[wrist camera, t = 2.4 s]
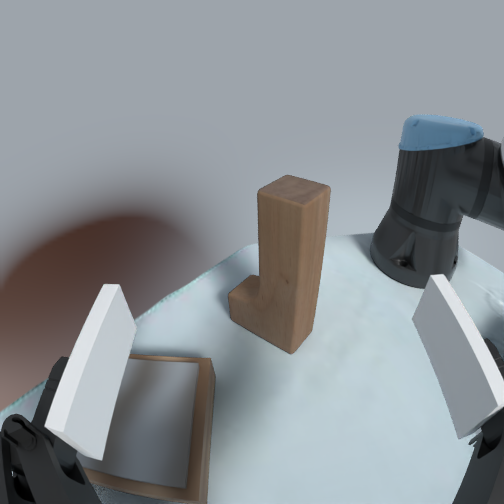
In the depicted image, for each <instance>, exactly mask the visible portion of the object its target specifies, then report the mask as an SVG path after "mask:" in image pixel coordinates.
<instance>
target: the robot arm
mask: <svg viewBox="0 0 504 504" xmlns="http://www.w3.org/2000/svg"><path fill="white" fill-rule="evenodd" d="M483 134H484V133H483V129H482V127H481V126H480V125H478V124H475V123H473V122H469V121H464V120H461V119H457V118H452V117H446V116H438V115H414V116H411V117H409V118H408V119H407V120H406V121H405V123H404V126H403V132H402V137H401V142H400V143H399V149H400V151H399V158H398V166H397V171H396V178H395V183H394V189H393V194H392V200H391V205H390V208H389V209H388V211H387V213H386V215H385V216H384V218H383V220H382V221H381V223H380V225H379V226H378V228H377V229H376V231H375V233H374V235H373V238H372V243H371V248H370V252H371V256H372V259H373V260H374V262H375V264H376V265H377V266H378V267H379V268H380V269H381V270H382V271H383V272H384V273H385V274H387V275H388V276H390V277H391V278H393V279H395V280H397V281H399V282H401V283H403V284H406V285H409V286H413V287H417V288H425V290H424V292H423V295H422V297H421V299H420V302H419V304H418V306H417V309H416V311H415V313H414V315H413V318H412V320H413V322H414V325H415V327H416V329H417V331H418V333H419V336H420V338H421V340H422V342H423V345H424V347H425V349H426V352H427V354H428V356H429V359H430V361H431V364H432V366H433V369H434V371H435V374H436V376H437V379H438V381H439V384H440V387H441V389H442V392H443V395H444V397H445V400H446V403H447V406H448V409H449V412H450V415H451V418H452V421H453V424H454V427H455V430H456V433H457V436H458V439H461V438H463V437H466V436H468V435H470V434H473V433H474V432H475V431H476V430H477V429H479V428H480V427H481V430H482V431H481V432H480V433H479V434H478V435H476V436H475V437H474V438H473V439H471V440H470V442H469V445H471V444H473V443H474V442H475V441H477V442H476V443H475V444H474V445H473V446H474V447H475V448H474V451H473V454H472V457H471V460H470V463H469V465H468V468H467V471H466V473H465V476H464V478H463V481H462V483H461V486H460V488H459V490H458V492H457V495H456V497H455V499H454V501H453V503H452V504H504V362H503V360H502V359H501V356H500V354H499V352H498V350H497V348H496V347H495V346H494V344H493V343H492V342H491V341H490V340H489V339H488V338H487V339H483V338H482V336H481V334H480V333H479V331H478V329H477V327H476V326H475V324H474V322H473V320H472V319H471V317H470V315H469V313H468V312H467V310H466V308H465V307H464V305H463V304H462V302H461V300H460V299H459V297H458V296H457V294H456V292H455V291H454V289H453V288H452V286H451V285H450V283H449V281H450V280H451V278H452V276H453V273H454V271H455V269H456V266H457V259H458V257H457V254H458V233H459V232H458V231H459V227H460V224H461V221H462V218H463V215H465V216H468V217H471V218H473V219H476V220H479V221H481V222H484V223H486V224H489V225H491V226H494V227H496V228H499V229H501V230H504V138H503V140H502V143H498V142H496V141H493V140H490V139H487V138H484V137H483ZM136 331H137V327H136V324H135V322H134V320H133V317H132V315H131V313H130V310H129V308H128V305H127V303H126V300H125V298H124V295H123V292H122V290H121V287H120V285H119V284H104V285H103V287H102V289H101V291H100V293H99V295H98V297H97V299H96V301H95V303H94V305H93V307H92V309H91V311H90V313H89V315H88V317H87V320H86V322H85V324H84V326H83V328H82V331H81V333H80V335H79V337H78V340H77V342H76V344H75V346H74V349H73V351H72V353H71V356H70V358H68V357H61V358H60V359H59V360H58V361H57V362H56V364H55V365H54V366H53V368H52V371H51V373H50V375H49V380H47V383H46V385H45V389H44V390H43V393H42V395H41V398H40V401H39V404H38V406H37V409H36V412H35V415H34V418H33V420H32V422H31V423H30V422H29V421H28V420H27V419H25V418H24V417H23V416H22V415H19V414H13V415H10V416H9V417H8V418H6V420H5V421H4V423H3V425H2V429H1V431H0V504H102V503H101V501H100V499H99V498H98V496H97V494H96V492H95V490H94V489H93V487H92V485H91V483H90V481H89V479H88V477H87V475H86V473H85V471H84V469H83V467H82V465H81V463H80V461H79V460H78V458H77V457H76V455H77V451H78V452H80V453H81V454H83V455H84V456H87V457H90V458H94V459H98V460H101V461H102V458H103V454H104V449H105V444H106V440H107V436H108V431H109V427H110V423H111V419H112V415H113V411H114V407H115V403H116V399H117V396H118V392H119V388H120V385H121V381H122V377H123V374H124V371H125V367H126V364H127V360H128V357H129V354H130V350H131V347H132V344H133V341H134V338H135V334H136ZM12 471H13V476H12Z"/></svg>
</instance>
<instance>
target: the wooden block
mask: <svg viewBox="0 0 504 504" xmlns="http://www.w3.org/2000/svg"><path fill="white" fill-rule="evenodd" d="M330 192H331V189H330V187H329V186H327V185H324V184H320V183H317V182H314V181H310V180H306V179H302V178H299V177H295V176H291V175H285V176H283V177H282V178H279V179H278V180H276V181H274V182H272V183H270V184H268V185H266V186H264V187H263V188H261V189H259V191H258V193H257V202H258V240H259V276H256V275H250V276H249V277H248V278H246V279H245V280H244V281H243V282H242V283H240V284H239V285H238V286H237V287H236V288H234V289H233V290H232V291H231V292H229V294H228V300H229V308H230V316H231V319H232V320H233V321H234V322H236V323H237V324H239V325H241V326H242V327H244V328H246V329H247V330H249V331H251V332H253V333H254V334H256V335H258V336H259V337H261V338H263V339H265V340H266V341H268V342H270V343H272V344H273V345H275V346H277V347H279V348H280V349H282V350H284V351H286V352H288V353H289V354H293V353H294V352H295V351H296V350H297V349H298V347H299V346H300V345H301V344H302V343H303V341H304V340H305V339H306V338H307V336H308V335H309V334H310V333H311V331H312V328H313V322H314V316H315V310H316V304H317V298H318V291H319V284H320V277H321V270H322V263H323V255H324V247H325V239H326V230H327V221H328V212H329V202H330Z"/></svg>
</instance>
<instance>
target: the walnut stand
mask: <svg viewBox="0 0 504 504" xmlns="http://www.w3.org/2000/svg"><path fill="white" fill-rule="evenodd" d="M215 378H216V376H215V372H214V369H213V365H212V361H211V358H190V357H167V356H151V355H137V354H129V357H128V360H127V364H126V367H125V371H124V374H123V377H122V381H121V385H120V388H119V392H118V396H117V399H116V403H115V407H114V411H113V415H112V419H111V423H110V427H109V431H108V436H107V440H106V444H105V449H104V454H103V458H102V461H101V460H98V459H94V458H90V457H87V456H84V455H83V454H81V453H80V452H78V451H77V455H76V457H77V458H78V460H79V461H80V463H81V465H82V467H83V469H84V471H85V473H86V475H87V477H88V479H89V481H90V483H92V484H95V485H99V486H102V487H106V488H109V489H113V490H117V491H121V492H125V493H129V494H134V495H139V496H143V497H149V498H154V499H160V500H166V501H172V502H180V503H188V504H207V493H208V476H209V459H210V444H211V430H212V416H213V403H214V391H215Z"/></svg>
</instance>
